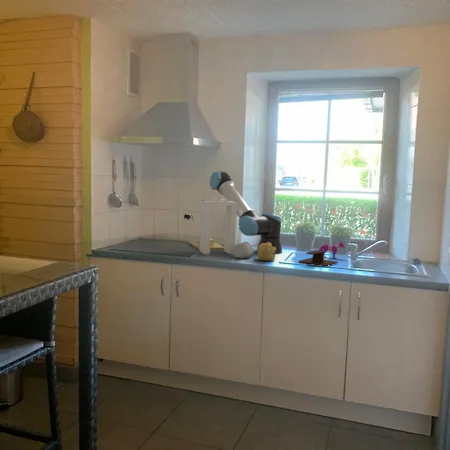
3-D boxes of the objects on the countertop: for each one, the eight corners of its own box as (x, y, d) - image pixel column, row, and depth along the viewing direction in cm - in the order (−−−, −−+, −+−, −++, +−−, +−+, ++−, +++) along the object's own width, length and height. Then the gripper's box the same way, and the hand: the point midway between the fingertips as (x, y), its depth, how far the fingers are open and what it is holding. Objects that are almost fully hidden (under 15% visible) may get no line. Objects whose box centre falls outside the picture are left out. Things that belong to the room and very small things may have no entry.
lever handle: (295, 250, 256) (312, 247, 272) (294, 264, 256) (311, 259, 272) (323, 254, 246) (339, 251, 262) (322, 268, 247) (338, 264, 263)
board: (225, 250, 289) (225, 247, 289) (200, 250, 284) (200, 247, 283) (212, 243, 313) (213, 241, 313) (189, 243, 308) (189, 241, 308)
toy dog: (343, 259, 276) (344, 242, 275) (313, 256, 283) (314, 238, 282) (344, 258, 279) (346, 241, 278) (314, 255, 286) (315, 238, 285)
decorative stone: (249, 255, 257) (241, 239, 259) (234, 264, 260) (226, 248, 262) (259, 253, 274) (250, 238, 275) (244, 262, 277) (236, 246, 278)
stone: (272, 263, 254) (273, 244, 253) (253, 261, 257) (254, 242, 256) (277, 259, 266) (278, 241, 265) (259, 257, 269) (260, 239, 268)
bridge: (234, 253, 277) (236, 199, 274) (204, 254, 271) (206, 198, 268) (228, 251, 286) (231, 198, 283) (199, 251, 281) (202, 197, 277)
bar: (213, 246, 291) (214, 240, 291) (207, 246, 290) (207, 239, 290) (205, 241, 313) (206, 235, 312) (199, 241, 311) (200, 235, 311)
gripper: (210, 220, 333) (220, 224, 313) (175, 219, 325) (183, 223, 305) (211, 209, 332) (220, 212, 312) (176, 208, 324) (183, 211, 304)
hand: (202, 218), depth 309 cm, fingers open, 13 cm apart
